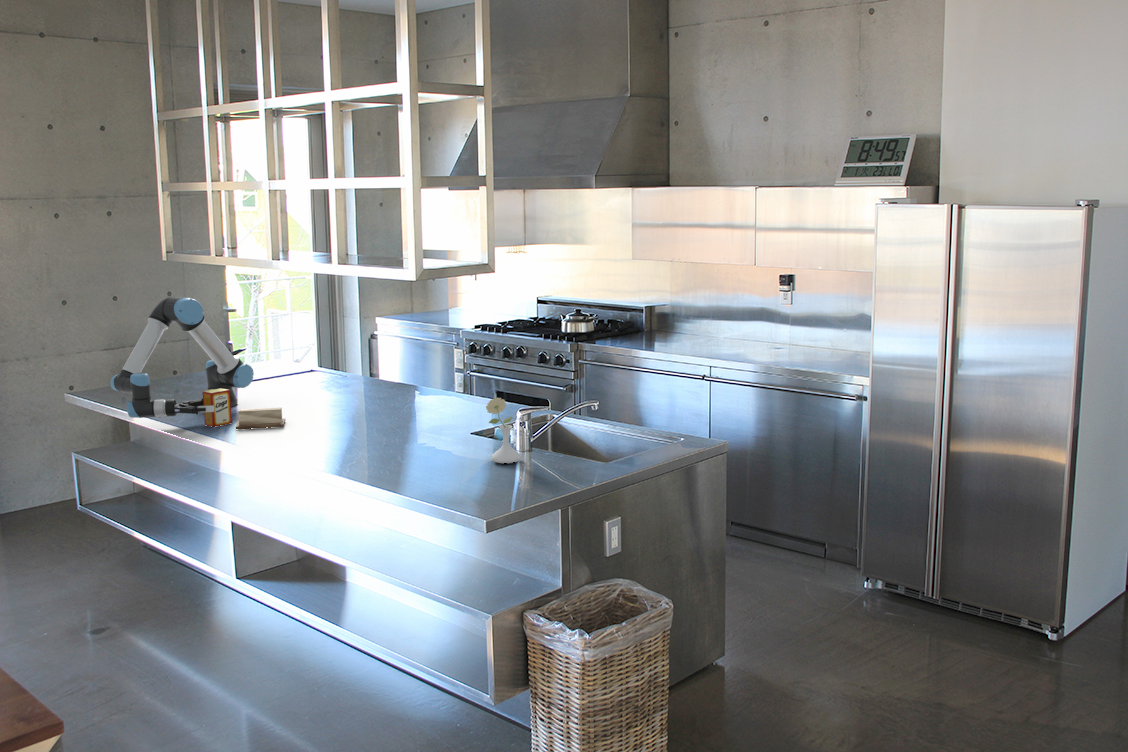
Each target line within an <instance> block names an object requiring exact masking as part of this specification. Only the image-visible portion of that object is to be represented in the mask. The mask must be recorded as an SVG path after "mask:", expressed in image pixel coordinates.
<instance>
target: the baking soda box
mask: <svg viewBox="0 0 1128 752" xmlns="http://www.w3.org/2000/svg"><path fill="white" fill-rule="evenodd" d="M202 398H203V406H214V412H203V415H204V417H203V419H204V426H205V425H207V426H206V427H208V426H212V427H215V426H220V425H224V426H226V425H225V424H229V423H232V424H233V416H232V407H231V399H230V390H229V389H223V388H219V389H211V390H208V389H207V390H203V391H202ZM229 425H230V424H229ZM212 427H211V428H212ZM220 427H221V426H220ZM215 428H216V427H215Z"/></svg>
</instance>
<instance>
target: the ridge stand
mask: <svg viewBox="0 0 1128 752" xmlns="http://www.w3.org/2000/svg"><path fill="white" fill-rule="evenodd" d="M285 421H286V418H283V410H282V407H268V408H267V407H266V408H265V407H263V408H246V409H245V408H244V409H242V408H241V409H238V422H237V424H236V426H235V430H236V429H249V430H252V429H251V428H266V427H268V429H272V428H271V427H283V428H284V427H285V425H284V424H286V422H285Z"/></svg>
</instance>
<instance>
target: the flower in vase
mask: <svg viewBox="0 0 1128 752" xmlns="http://www.w3.org/2000/svg"><path fill="white" fill-rule="evenodd" d="M485 408H486V410H487V413H489V414H492V415H497V416H498V418H496V417H495V418H491V419H490V420H489V422H488V424H493V425H494V424H495V425H496V424H498V423H499V422H500V423H501V424H502V425H499V426H498V427H499V429H500V431H501V434H502V445H501V447H500V448H499V449H497V450H496V451H495V452H494V453H493V454H492V455H491V460H492V461H493V462H494V463H498V464H504V463H507V464H514V463H513V462H515V463H517V462H520V461H521V459H522V455H521V454H520V453H519V452H518V451H517V450H516V449H514V448H513V447H512V445H511V444H510V434H511V430H512V428H513V427H514V426H513V425H511V424H510V425H509V424H508V423H510V422H511V421H512V418H513V416H510V417H508V418H505V419H504V420H503V422H502V420H501V418H500V413H502V412H504V410H505V409H506V408H507V402H506V400H505V399H502V397H496V398H494V397H493V398H492V399H490V400H489V401H488V403H487V405H486V406H485Z"/></svg>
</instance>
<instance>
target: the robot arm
mask: <svg viewBox="0 0 1128 752" xmlns="http://www.w3.org/2000/svg"><path fill="white" fill-rule="evenodd" d="M205 320H206V315H205V314H204V307H203V306H202V304H201V303H200V302H199V301H198V300H196V299H194V298H191V297H178V296H177V297H176V296H167V297H165V298H163V299H162V300H161V301H159V302H158V303H157V304H156V306H155V307H154V308H153V310H152V311H151V313H150V314H149V316H148V318H147V324H146V326H145V328H144V330H143V332H142V333H141V335H140V337H139V338H138V340H137V343H136V344H135V346H134V348H133V349H132V351H131V353H130V355H129V357H128V358H127V360H126V361H125V363H124V365H123V367H122V369H121V371H120V372H119V374H115V375H114V376H112V377H111V379H110V387H111V389H112V390H113V391H116V392H119V393H125V394H131V399H132V400H130V401H128V402H127V407H126V408H127V409H126V410H127V415H128V417H130V418H131V419H132V418H135V419H137V418H139V419H141V418H142V419H143V418H157V417H158V418H160V419H161V418H162V417H175V416H176V415H177V414H190V415H199V413H204V412H214V406H203V397H202V398H201V399H194V400H186V401H185V400H184V401H179V403H177V400H176V399H175V398H169V399H164V398H163V399H152V396H151V395H152V393H151V381H150V375H149V374H148V373H146V372H142V371H143V369H144V367H145V365H146V364H147V362H148V360H149V358H150V357H151V355H152V353H153V352H154V350H155V348H156V346H157V344H158V343H159V341H160V339H161V337H162V336H163V333H164V332H165V331H166V330H169V328H170V326H171V325H172V324H173V323H175V324H177V326H179V328H180V329H181V330H182V331H183V332H186V333H189V334H190V335H191V337H192V338H193V339H194V340H195V342H197V344H199V347H201V348H202V350H203V351H204V352H205V353H206V354H207V356H208V357H209V358H210V359H211V360H210V359H209V360H207V361H206V363H205V372H206V373H205V374H206V375H205V376H206V387H207V388H206V389H207V390H211V389H219V388H223V389H229V390H230V399H231V406H232V407H235V406H234V405H236V404H237V403H238V398H237V395H236V394H235V390H234V389H233V388H237V389H245V388H247V387H249V386H250V385H251V383H252V382H253V379H254V375H255V374H254V369H253V368H252V366H251V365H250V364H248V363H244V362H243V361H242V360H241V359H240V357H239V356H238V355H233V354H232V353H231V352H230V350H229V348H228V347H227V346H225V344H224V343H223V341H222V340H221V339H220V338H219V337H218V336H217V334H216V333H215V331H214V330H213V329H212V328H211V327H210V326H209V324H208V323H207V322H206V321H205ZM237 405H238V404H237ZM237 405H236V406H237Z"/></svg>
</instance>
